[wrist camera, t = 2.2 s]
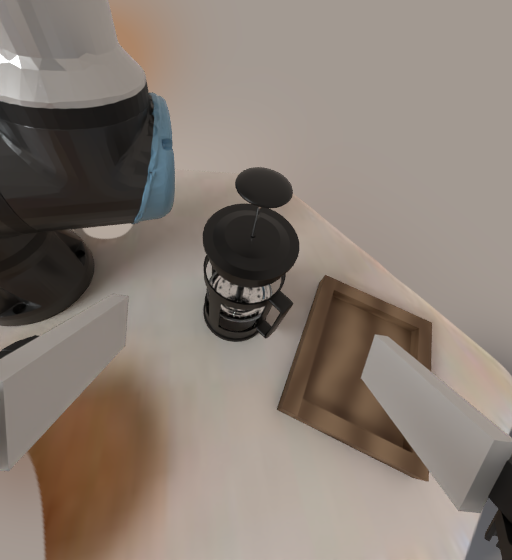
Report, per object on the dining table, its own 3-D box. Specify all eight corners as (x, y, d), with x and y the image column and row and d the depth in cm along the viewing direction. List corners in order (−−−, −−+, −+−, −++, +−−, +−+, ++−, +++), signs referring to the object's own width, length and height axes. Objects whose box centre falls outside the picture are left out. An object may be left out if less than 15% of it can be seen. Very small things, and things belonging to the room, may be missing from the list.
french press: (186, 305, 36) (161, 164, 17) (233, 270, 40) (256, 125, 21) (243, 365, 33) (292, 278, 14) (286, 320, 38) (371, 206, 18)
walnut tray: (276, 409, 31) (281, 408, 29) (319, 282, 42) (325, 275, 40) (412, 477, 30) (428, 481, 28) (420, 328, 41) (431, 322, 39)
